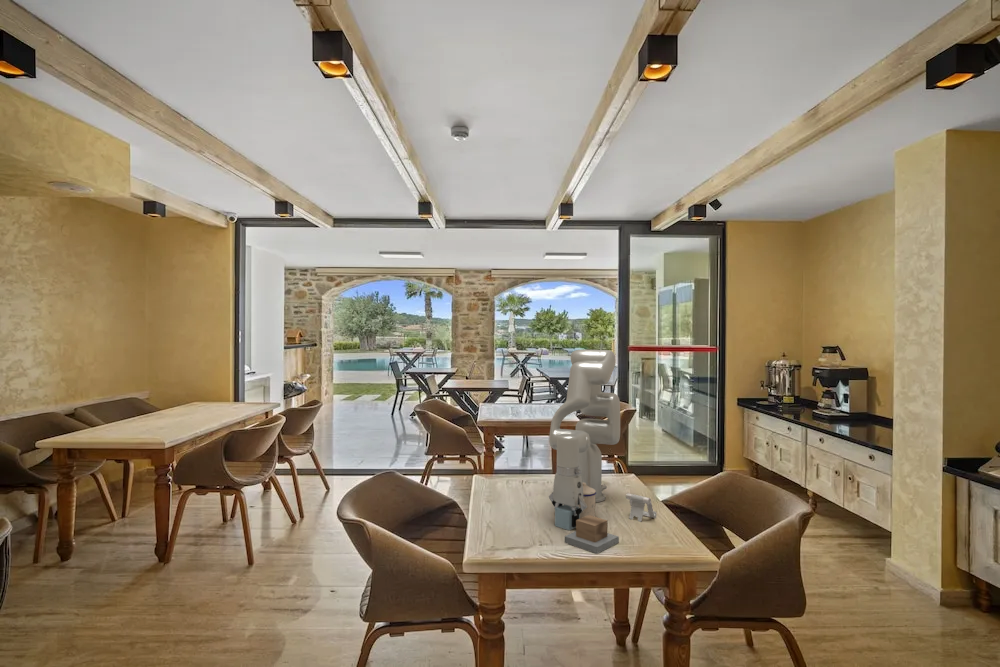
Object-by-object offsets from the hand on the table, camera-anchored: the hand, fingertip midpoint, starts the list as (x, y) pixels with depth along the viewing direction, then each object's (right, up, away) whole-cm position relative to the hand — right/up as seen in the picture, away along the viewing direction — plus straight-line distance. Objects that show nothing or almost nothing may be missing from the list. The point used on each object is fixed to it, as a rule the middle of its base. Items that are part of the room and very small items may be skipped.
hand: (567, 523), depth 178 cm
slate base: (+6, -1, -14) cm, 15 cm away
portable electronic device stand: (+27, -2, +9) cm, 29 cm away
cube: (0, -1, 0) cm, 1 cm away
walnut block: (+6, +1, -14) cm, 15 cm away
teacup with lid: (+7, -1, +10) cm, 12 cm away
